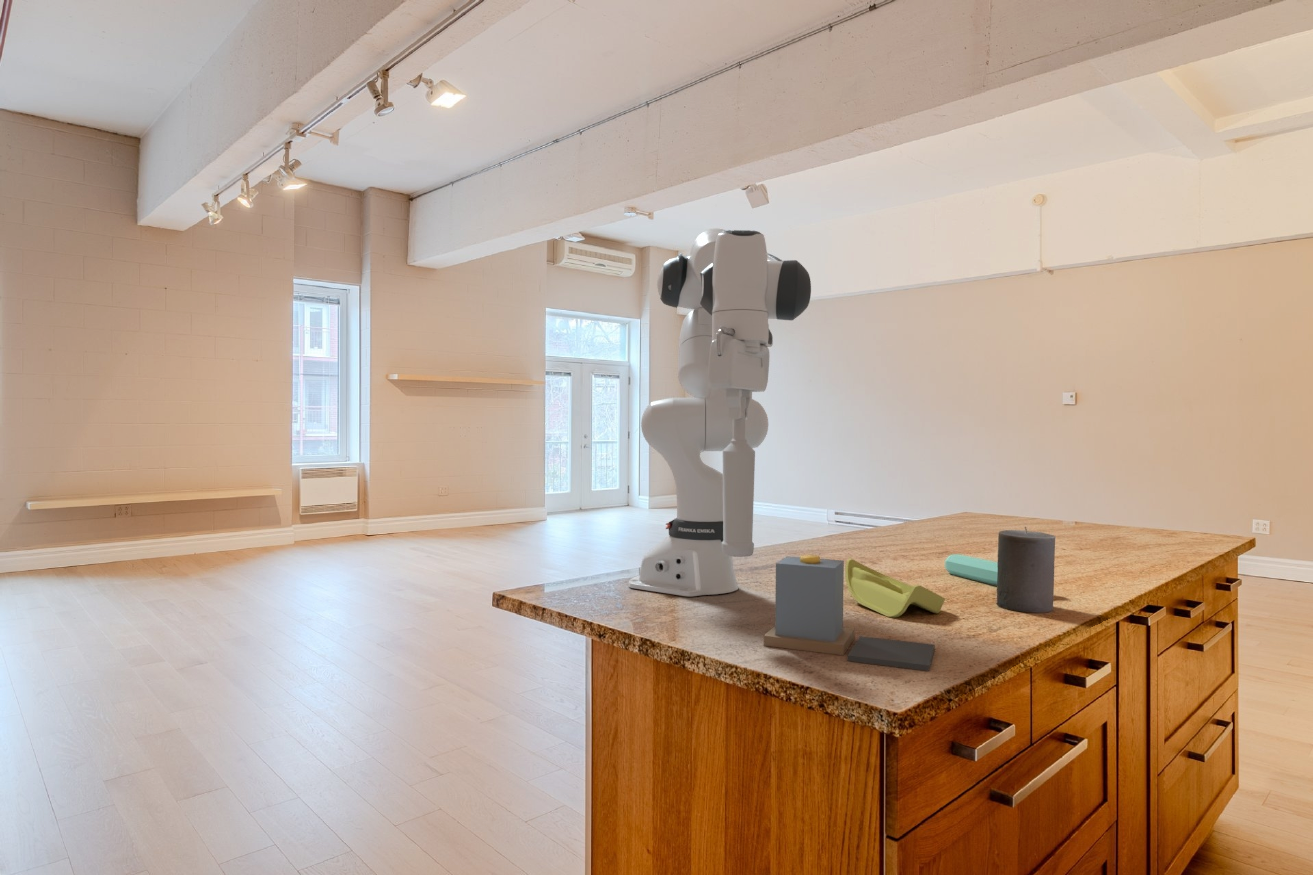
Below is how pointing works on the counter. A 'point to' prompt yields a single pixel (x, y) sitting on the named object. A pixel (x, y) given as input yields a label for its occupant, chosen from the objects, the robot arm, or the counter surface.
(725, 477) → the bottle
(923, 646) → the pad
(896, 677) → the counter surface
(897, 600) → the plastic component
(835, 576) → the mounted unit
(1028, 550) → the pillar candle
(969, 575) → the mint green rod
